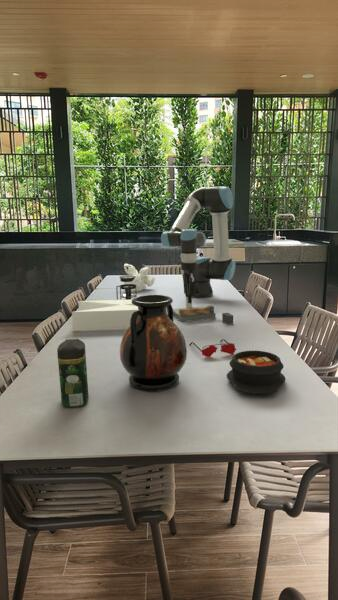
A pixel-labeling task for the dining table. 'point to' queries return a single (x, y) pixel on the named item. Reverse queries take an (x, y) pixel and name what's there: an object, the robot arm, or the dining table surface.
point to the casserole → (256, 372)
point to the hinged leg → (196, 311)
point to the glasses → (211, 349)
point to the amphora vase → (153, 345)
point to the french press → (127, 289)
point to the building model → (103, 315)
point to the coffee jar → (73, 373)
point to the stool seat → (192, 316)
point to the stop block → (227, 318)
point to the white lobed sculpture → (139, 278)
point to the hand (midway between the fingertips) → (189, 309)
